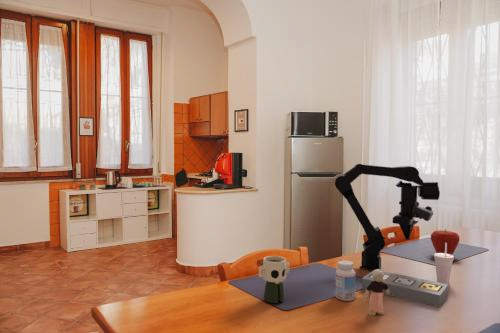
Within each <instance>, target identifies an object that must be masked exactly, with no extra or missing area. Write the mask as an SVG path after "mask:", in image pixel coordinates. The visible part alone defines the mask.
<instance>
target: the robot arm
mask: <svg viewBox="0 0 500 333" xmlns="http://www.w3.org/2000/svg"><path fill="white" fill-rule="evenodd" d="M361 175H369V176H370V175H371V176H379V177H389V178H394V179H398V180H399V181H398V182H397V183H396V184H395V187H397V188H400V201H398V205H400V211H399V212H398V214H397V215H394V216H393V217H392V224H396V225H399V227H400V229H401V231H402V234H403V236H404V238H405V240H407V241H409V240H410V239H411V235H412V232H413V229H414V226H415V225H417V224H418V223H419V220H424V221H426V222H429V221H430V220H431V219H432V217H433V215H434V211H433V207H432V206H429V205H426V207H424V206H420V202H419V201H418V197H419V198H420V199H421V200H427V201H439V199H440V194H441V193H440V187H439V182H437V181H423V179H422V178H421V177H420V172H419V170H418V168H417V167H415V166H412V165H404V166H403V165H401V166H380V165H372V164H371V165H370V164H362V163H356V164H355V165H354V166H353V167H352V168H350V169H349V170H348V171H346V172H345V173H344V174H339V175H337V176H336V177H335V179H334V187H335V188H336V190H338V192H339V193H340V194H341V195H342V196H343V198H344V199H346V202H347V203H348V204H349V206H350V208H351V210H352V212H353V213H354V215H355V217H356V218H357V220H358V221H359V223H360V226H361V227H362V229H363V231H364V233H365V236H366V239H367V240H366V241H364V242H363V243H362V248H363V250H362V251H361V265H359V269H362V270H363V269H364V270H368V271H371V272H372V271H374V270H376V269H379V270H381V268H382V257H381V251H382V250H384V248H385V247H386V237H385V236H384V234H383V233H382V230H381V229H380V226H377V227H375V226H374V225H373V224H372V222H371V221H370V219H369V217H368V216H367V214H366V212H365V211H364V208H363V206H362V205H361V203H360V202H359V200H358V198H357V196H356V195H355V192H354V189H353V187H352V183H353V182H354V181H355V180H357V179H358V177H360V176H361ZM403 181H405V182H403ZM412 183H414V184H415V185H413V184H412ZM415 218H417V219H419V220H415Z"/></svg>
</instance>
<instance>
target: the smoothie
mask: <svg viewBox="0 0 500 333" xmlns="http://www.w3.org/2000/svg"><path fill="white" fill-rule="evenodd" d="M433 258H434V264H435V274H436V282H439V283H444V284H449V283H450V278H451V273H452V268H453V261H454V260H455V256H454V254H452V255H450V254H447V243H445V253H436V252H435V253H434V254H433Z"/></svg>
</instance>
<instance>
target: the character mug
mask: <svg viewBox="0 0 500 333" xmlns="http://www.w3.org/2000/svg"><path fill="white" fill-rule="evenodd" d="M290 266H291V265H290V262H287V258H286V257H283V256H279V255H267V256H265V257H263V258H262V266H259V267H258V278H262V279H263V280H264V281H266V282H265V286H264V291H263V292H264V293H263V299H264V300H265V301H266V302H268V303H272V304H278V303H279V300H280V303H282V302H284V301H285V291H284V290H285V289H284V285H283V282H284V281H285V280H286V278H287V274H289V273H290V271H291V270H290ZM283 300H284V301H283Z"/></svg>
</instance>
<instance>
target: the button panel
mask: <svg viewBox="0 0 500 333" xmlns="http://www.w3.org/2000/svg"><path fill="white" fill-rule="evenodd" d="M381 271H382V272H383V273H384V275H388V276H390V278H388V279H387V280H382V282H384V283H385V284H386V285H387V286H388V289H389V291H390V293H389V294H387V293H386V291H385V290H384V289H383V295H388V296H391V297H396V298H399V299H404V300H408V301H412V302H416V303H422V304H426V305H431V306H433V307H441V305H442V304H443V303H444V302H445V300H446V299H447V297H448V296H449V284H444V283H439V282H437V281H434V280H429V279H428V280H427V279H423V278H418V277H414V276H408V275H403V274H399V273H393V272H390V271H389V272H388V271H384V270H381ZM372 272H373V271H372V270H371V272H369V273H368V274H366V275H365V276H364V277H362V278H361V290H364V291H366V288H367V287H368V286H369V284H370V283H371V282H372V281H375V280H374V279H373V278H372V277H370V276H372ZM398 278H403V279H408V280H413V281H415V282H414V284H413V285H412V286H410V285H405V284H400V283H396V282H394V281H395V280H397V279H398ZM424 283H427V284H432V285H437V286H441V289H440V291H439V292H438V291H433V290H429V289H424V288H420V287H421V286H422V285H423V284H424Z"/></svg>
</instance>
